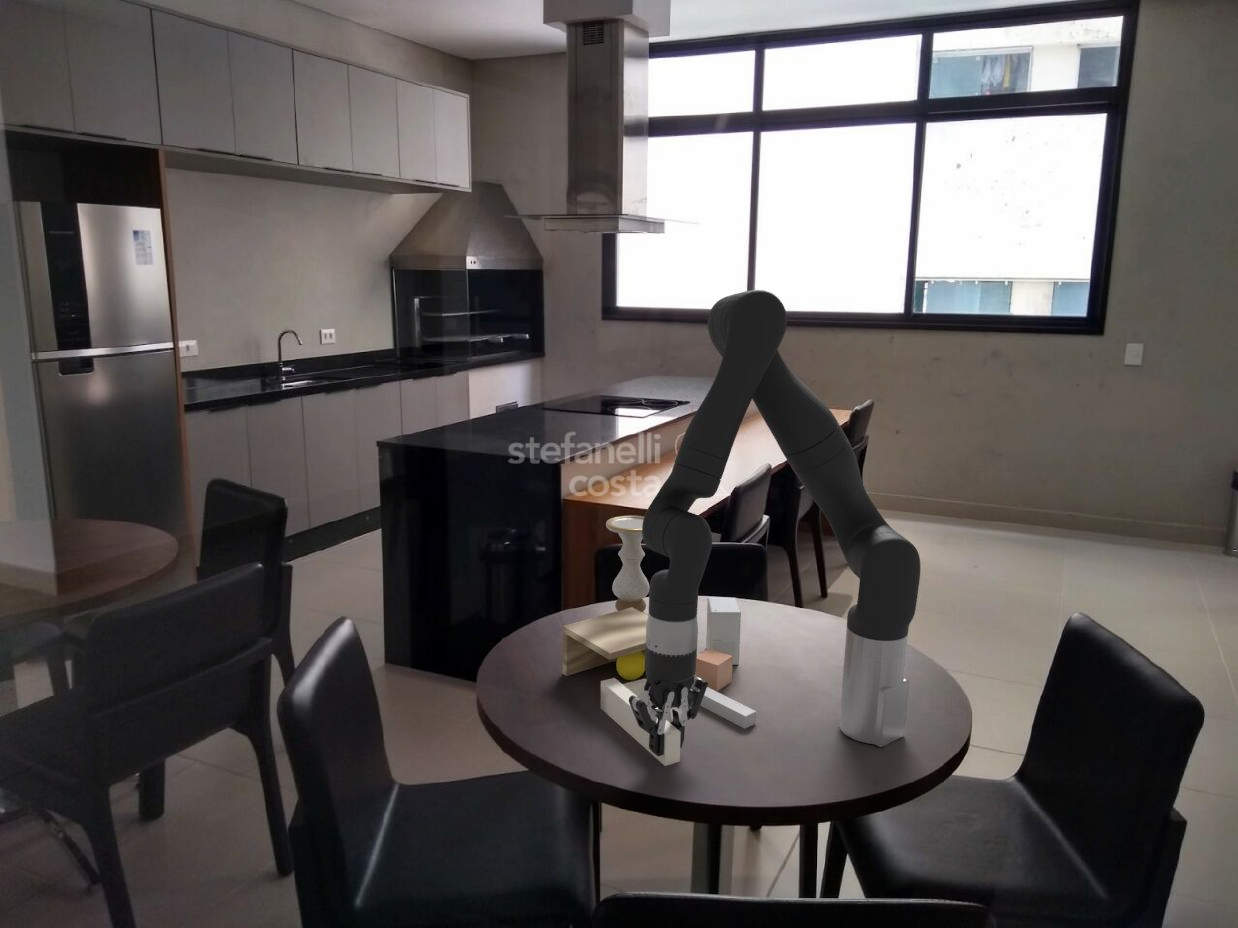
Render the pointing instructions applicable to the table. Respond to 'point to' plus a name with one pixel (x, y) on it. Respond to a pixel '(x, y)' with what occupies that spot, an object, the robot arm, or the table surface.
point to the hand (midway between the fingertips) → (666, 749)
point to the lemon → (631, 665)
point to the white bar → (621, 713)
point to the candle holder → (630, 563)
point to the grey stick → (728, 708)
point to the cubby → (603, 639)
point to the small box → (724, 626)
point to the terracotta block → (714, 668)
